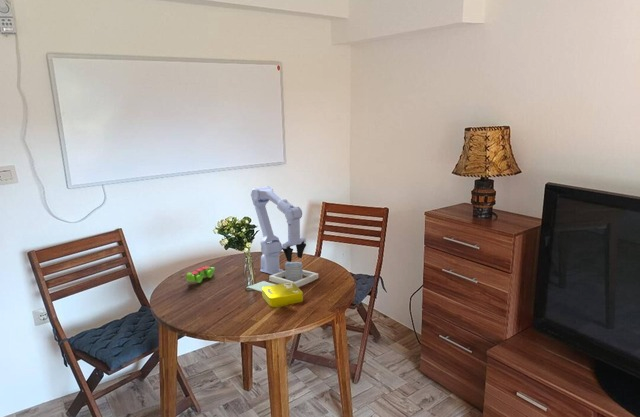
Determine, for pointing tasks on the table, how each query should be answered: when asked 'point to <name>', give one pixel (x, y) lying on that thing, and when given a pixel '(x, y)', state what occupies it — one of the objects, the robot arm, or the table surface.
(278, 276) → the white square frame
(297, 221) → the robot arm
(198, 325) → the table surface
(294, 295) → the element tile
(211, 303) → the table surface
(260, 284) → the mat
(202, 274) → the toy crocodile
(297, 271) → the medicine box
